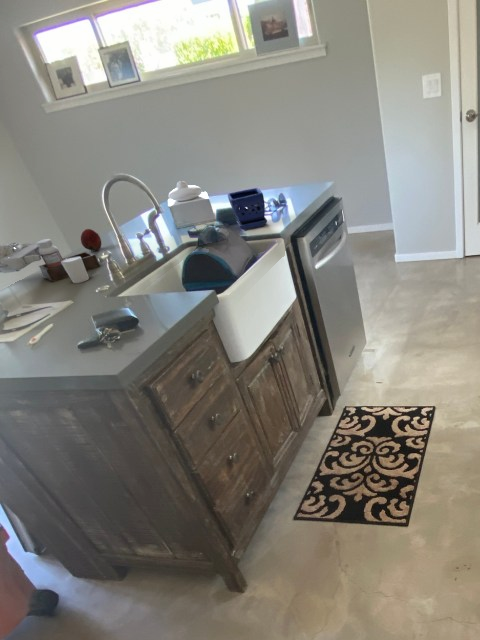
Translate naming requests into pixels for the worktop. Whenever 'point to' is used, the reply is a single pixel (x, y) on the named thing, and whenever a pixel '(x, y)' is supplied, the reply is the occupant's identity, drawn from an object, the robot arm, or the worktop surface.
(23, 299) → the worktop surface
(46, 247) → the pill bottle
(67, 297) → the worktop surface
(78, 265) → the white cup
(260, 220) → the flower pot
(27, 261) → the robot arm
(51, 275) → the brown wooden tray
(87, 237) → the apple
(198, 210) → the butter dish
